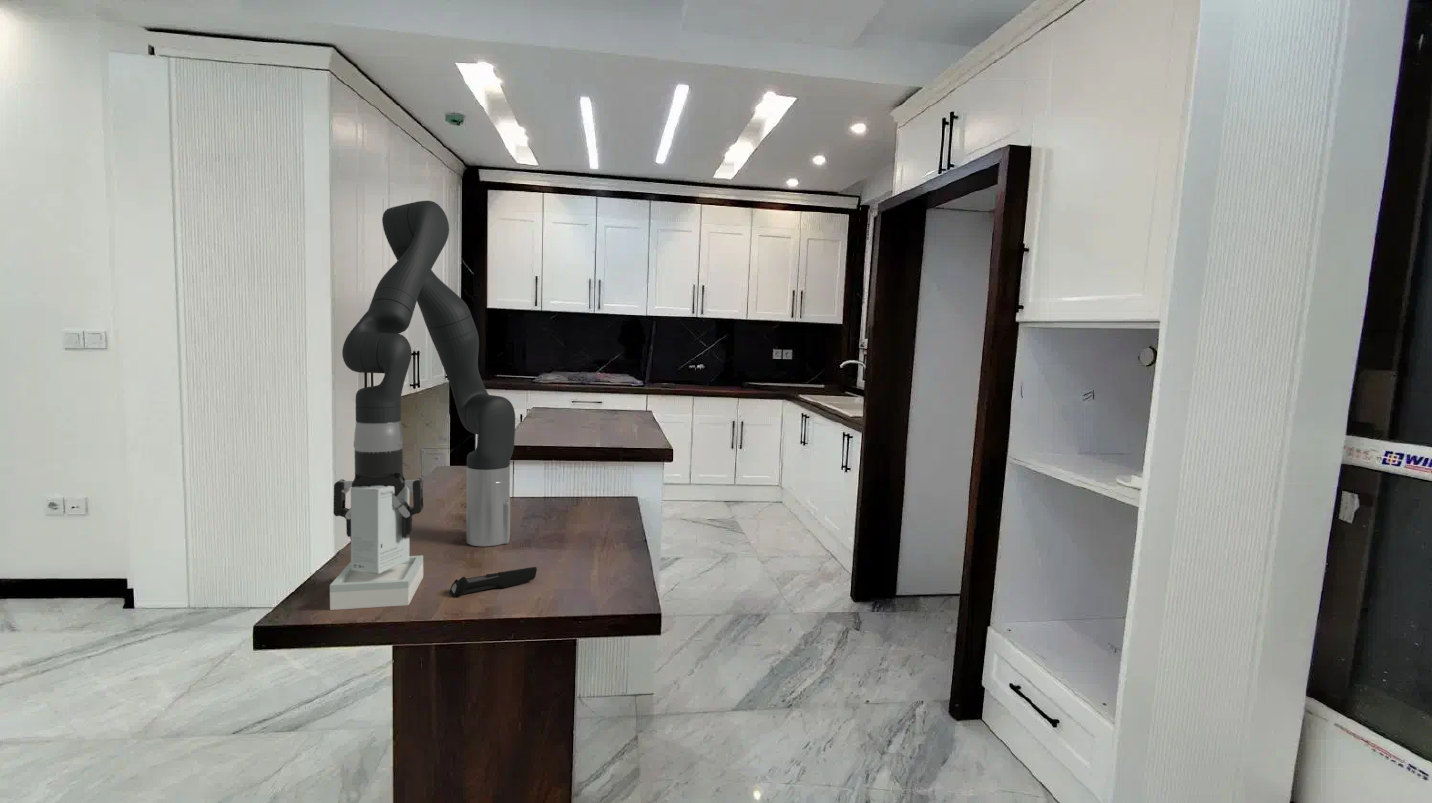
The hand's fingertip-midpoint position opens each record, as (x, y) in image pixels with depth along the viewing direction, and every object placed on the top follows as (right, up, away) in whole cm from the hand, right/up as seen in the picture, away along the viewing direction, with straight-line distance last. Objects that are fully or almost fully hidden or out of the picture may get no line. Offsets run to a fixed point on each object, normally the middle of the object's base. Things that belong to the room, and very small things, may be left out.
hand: (379, 537), depth 117 cm
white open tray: (0, -10, +1) cm, 10 cm away
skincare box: (0, -5, +1) cm, 5 cm away
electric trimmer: (+18, -11, +5) cm, 22 cm away
